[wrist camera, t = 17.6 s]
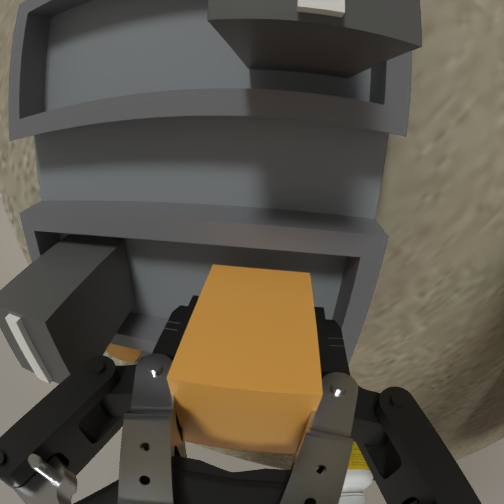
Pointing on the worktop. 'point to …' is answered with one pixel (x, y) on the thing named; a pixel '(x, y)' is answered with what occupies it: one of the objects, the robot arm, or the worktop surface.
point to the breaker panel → (200, 156)
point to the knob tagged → (67, 305)
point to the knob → (317, 33)
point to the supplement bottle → (356, 479)
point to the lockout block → (249, 361)
